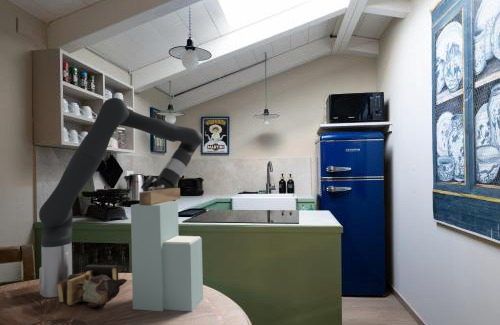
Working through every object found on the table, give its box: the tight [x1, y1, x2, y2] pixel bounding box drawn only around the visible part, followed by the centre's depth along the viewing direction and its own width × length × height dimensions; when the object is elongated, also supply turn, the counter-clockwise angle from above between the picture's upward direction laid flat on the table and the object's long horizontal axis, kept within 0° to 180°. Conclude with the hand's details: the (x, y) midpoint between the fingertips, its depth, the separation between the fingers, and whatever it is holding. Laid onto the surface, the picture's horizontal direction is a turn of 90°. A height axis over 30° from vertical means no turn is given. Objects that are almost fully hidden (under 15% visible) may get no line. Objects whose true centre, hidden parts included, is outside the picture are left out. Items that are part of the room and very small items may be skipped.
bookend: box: [57, 264, 127, 308], centre depth 103 cm, size 15×11×25 cm
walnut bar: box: [138, 187, 181, 205], centre depth 106 cm, size 4×20×4 cm, turn 167°
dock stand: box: [130, 200, 204, 312], centre depth 100 cm, size 19×12×32 cm, turn 77°
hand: (150, 208), depth 116 cm, fingers open, 8 cm apart
